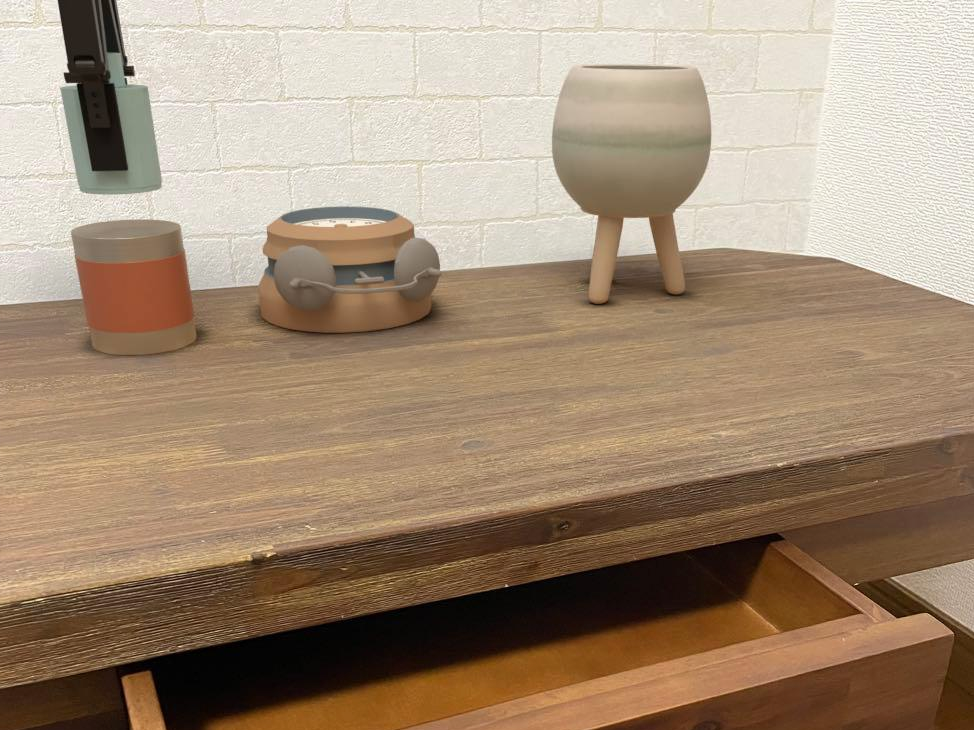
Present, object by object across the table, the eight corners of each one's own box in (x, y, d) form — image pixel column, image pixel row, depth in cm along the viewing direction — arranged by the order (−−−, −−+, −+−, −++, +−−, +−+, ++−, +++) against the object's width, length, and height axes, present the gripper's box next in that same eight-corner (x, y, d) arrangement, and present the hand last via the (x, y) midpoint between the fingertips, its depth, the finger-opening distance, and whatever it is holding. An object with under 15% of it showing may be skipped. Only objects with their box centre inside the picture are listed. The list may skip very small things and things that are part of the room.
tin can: (76, 355, 91) (53, 238, 86) (110, 327, 99) (91, 219, 94) (182, 355, 91) (164, 238, 86) (208, 327, 99) (193, 219, 95)
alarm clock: (401, 198, 111) (471, 237, 92) (405, 284, 115) (473, 339, 96) (237, 206, 105) (277, 251, 86) (248, 297, 109) (288, 359, 90)
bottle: (67, 194, 86) (40, 54, 81) (95, 182, 92) (72, 51, 87) (148, 194, 86) (126, 55, 81) (171, 182, 92) (152, 52, 87)
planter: (572, 315, 104) (577, 71, 94) (535, 279, 118) (536, 63, 108) (722, 307, 108) (743, 70, 97) (669, 273, 121) (682, 63, 111)
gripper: (94, -180, 70) (150, 179, 80) (131, -143, 87) (173, 150, 97) (-27, -185, 68) (46, 182, 79) (35, -146, 85) (88, 151, 96)
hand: (116, 164), depth 88 cm, fingers closed on bottle, 7 cm apart
